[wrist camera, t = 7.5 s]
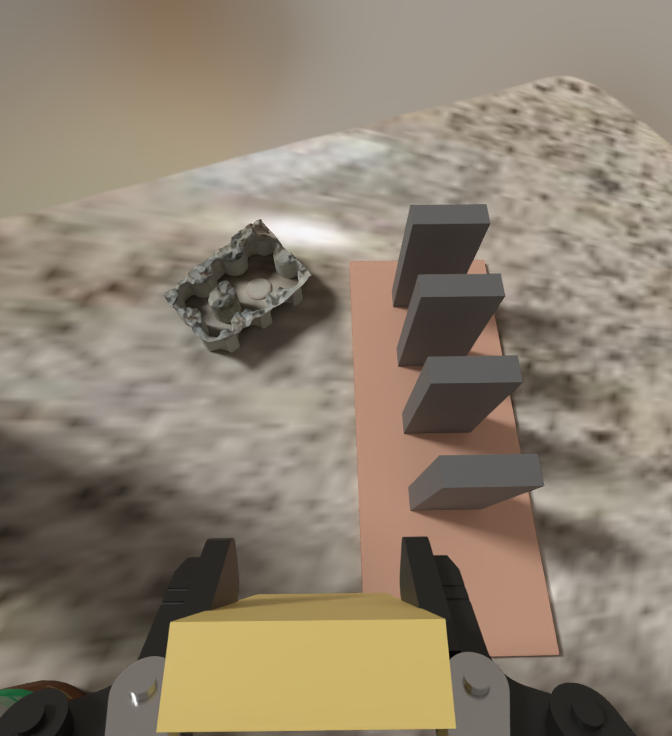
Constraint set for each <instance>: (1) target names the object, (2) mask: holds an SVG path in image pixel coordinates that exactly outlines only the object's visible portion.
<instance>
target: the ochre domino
mask: <svg viewBox="0 0 672 736" xmlns="http://www.w3.org/2000/svg"><path fill="white" fill-rule="evenodd" d="M386 729H456V722H455V712H454V702H453V692H452V681H451V671H450V661H449V651H448V640H447V630H446V620H445V619H444V618H442V617H440V616H437V615H435V614H433V613H431V612H428V611H426V610H424V609H419V608H417V607H415V606H413V605H411V604H408V603H406V602H404V601H402V600H401V599H399V598H397V597H395V596H393V595H390V594H388V593H328V594H257V595H253V596H250V597H247V598H244V599H241V600H238V601H237V602H235V603H232V604H229V605H226V606H223V607H220V608H217V609H214V610H211V611H203V612H200V613H197V614H194V615H191V616H188V617H185V618H181V619H178V620H175V621H172V622H170V628H169V635H168V643H167V651H166V659H165V667H164V675H163V683H162V691H161V698H160V706H159V714H158V722H157V730H156V732H229V731H308V730H386Z"/></svg>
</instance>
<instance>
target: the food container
mask: <svg viewBox="0 0 672 736" xmlns="http://www.w3.org/2000/svg"><path fill="white" fill-rule="evenodd" d="M49 688H52V689H57V690H60V691H62V692H63V693H64V694H65V696H66V697H67V700H68V701H70V700H73V699H76V698H79V697H83V696H86V695H85V694H84V693H83V692H81V691H80V690H79V689H77V688H76V687H74V686H71V685H69V684H67V683H63V682H59V681H45V680H42V681H36V682H31V683H26V684H22V685H18V686H13V687H9V688H5V689H0V717H1V716H2V715H3V714H4V713H5V712H6V711H7V710H8V709H9V708H10V707H11V706H12V705H13V704H14V703H16V702H17V701H18V700H20V699H21V698H23V697H25V696H26V695H28V694H30V693H33V692H35V691H38V690H42V689H49Z"/></svg>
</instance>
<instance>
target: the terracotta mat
mask: <svg viewBox="0 0 672 736" xmlns="http://www.w3.org/2000/svg"><path fill="white" fill-rule="evenodd" d="M397 265H398V261H350V284H351V309H352V335H353V360H354V385H355V411H356V436H357V461H358V487H359V512H360V538H361V563H362V588H363V593H388V594H390V595H393V596H395V597H397V598H399V599H401V595H400V560H401V543H402V537H415V536H427V537H428V538H429V541H430V545H431V548H432V552H433V555H448V557H449V558H450V559H451V560H452V561H453V562H454V563H455V565H456V566H457V567H458V568H459V570H460V573H461V575H462V578H463V581H464V584H465V588H466V590H467V593H468V596H469V600H470V602H471V604H472V607H473V610H474V613H475V616H476V619H477V622H478V624H479V627H480V630H481V633H482V636H483V639H484V642H485V645H486V647H487V650H488V653H489V655H490V657H491V656H532V655H559V650H558V645H557V640H556V634H555V629H554V624H553V619H552V613H551V608H550V603H549V598H548V593H547V587H546V582H545V577H544V572H543V566H542V561H541V556H540V551H539V545H538V540H537V535H536V530H535V524H534V519H533V514H532V509H531V503H530V498H529V493H528V492H527V493H524V494H521V495H519V496H516V497H513V498H511V499H508V500H505V501H502V502H500V503H497V504H494V505H492V506H489V507H486V508H484V509H471V510H420V511H410V504H409V492H408V487H409V486H410V485H411V484H412V483H413V482H414V481H415V480H416V479H417V478H418V477H419V476H420V474H421V473H422V472H423V471H424V470H425V469H426V468H427V467H428V466H429V465H430V464H431V463H432V462H433V461H434V460H435V459H436V458H437V457H438V456H439V455H485V454H521V451H520V446H519V440H518V435H517V430H516V425H515V419H514V414H513V409H512V404H511V398H510V395H509V396H508V397H507V398H506V399H505V400H504V401H503V402H502V403H501V404H500V405H499V406H498V407H496V408H495V409H494V410H493V411H492V412H491V413H490V414H489V415H488V416H487V417H486V418H485V419H484V420H483V421H482V422H481V423H480V424H479V425H478V426H477V427H476V428H475V429H474V430H472V431H471V432H470V433H414V434H404V432H403V420H402V412H403V410H404V408H405V405H406V403H407V401H408V399H409V397H410V395H411V392H412V390H413V388H414V386H415V384H416V381H417V379H418V377H419V375H420V373H421V371H422V368H423V366H398V360H397V349H396V348H397V345H398V342H399V338H400V335H401V332H402V328H403V325H404V321H405V318H406V315H407V311H408V308H409V307H393V301H392V288H393V283H394V278H395V274H396V269H397ZM467 274H487V273H486V267H485V262H484V260H473V262H472V264H471V266H470V268H469V270H468V273H467ZM467 356H502V351H501V346H500V341H499V336H498V330H497V325H496V320H495V315H494V314H493V316H492V317H491V319H490V320H489V322H488V324H487V325H486V327H485V328H484V330H483V331H482V333H481V334H480V336H479V338H478V339H477V341H476V342H475V344H474V345H473V347H472V348H471V350H470V351H469V353H468V355H467Z"/></svg>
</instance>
